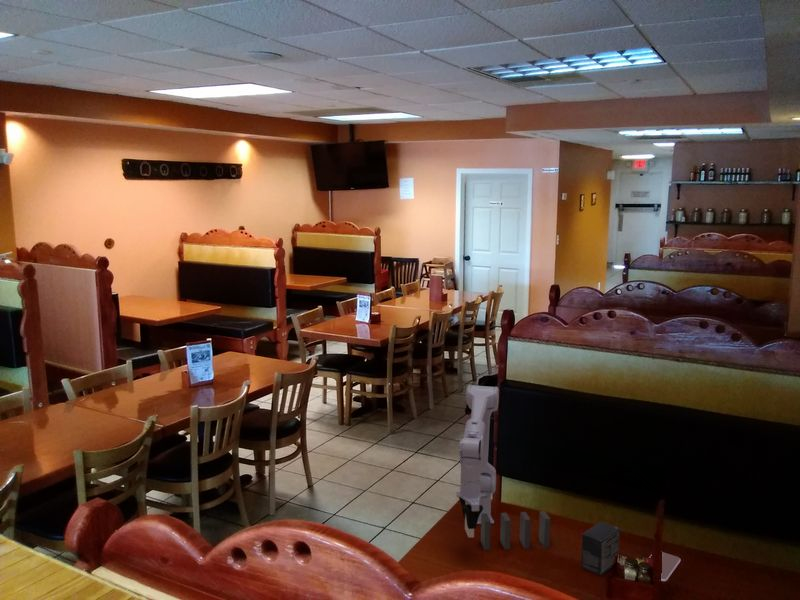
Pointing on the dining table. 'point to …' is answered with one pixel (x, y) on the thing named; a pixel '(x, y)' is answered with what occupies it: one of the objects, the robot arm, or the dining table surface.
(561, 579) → the dining table surface
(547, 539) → the grey domino
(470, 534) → the ivory domino
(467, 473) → the robot arm
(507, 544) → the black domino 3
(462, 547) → the dining table surface
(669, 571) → the mobile phone
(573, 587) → the dining table surface
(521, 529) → the grey domino
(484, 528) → the grey domino
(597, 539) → the small box
